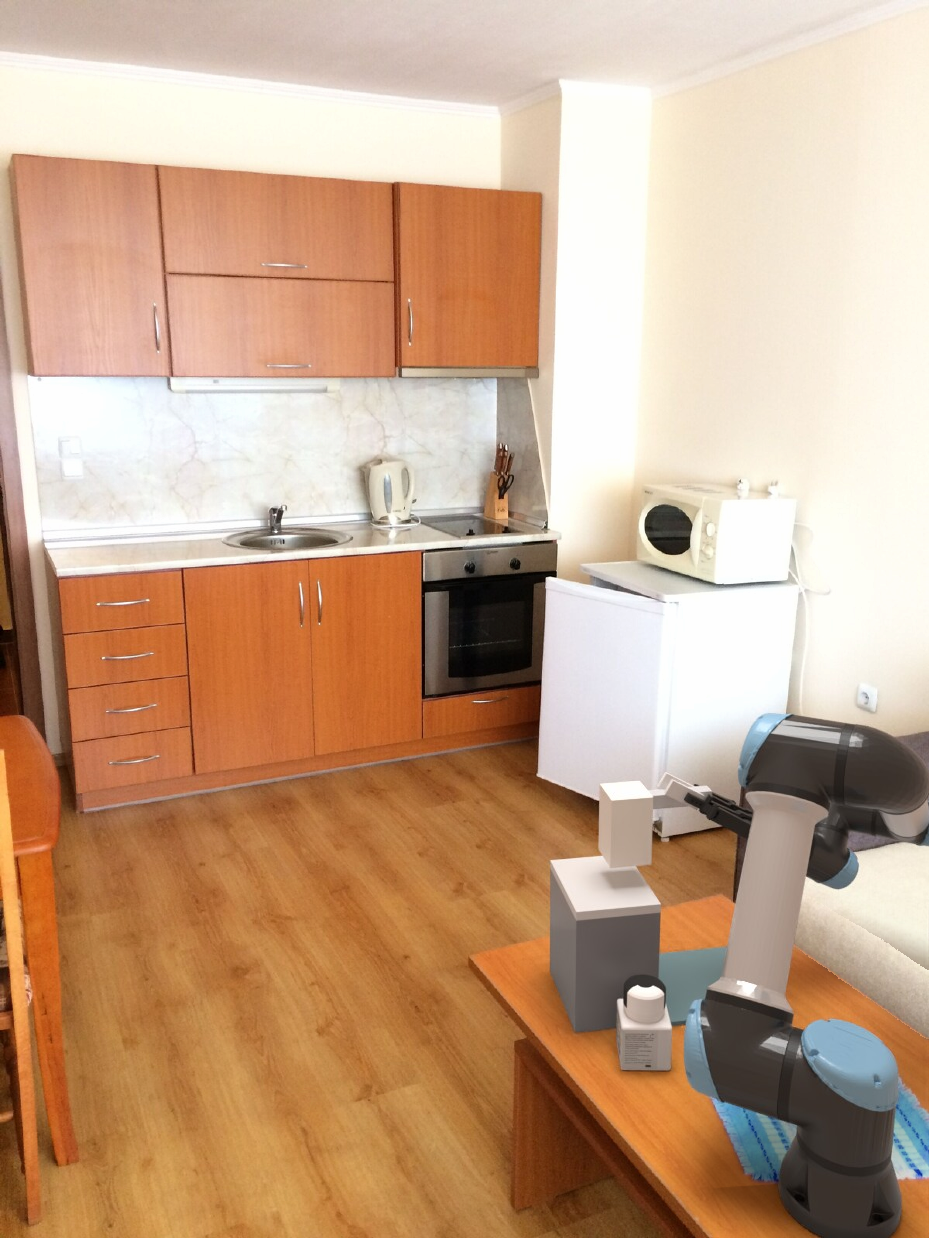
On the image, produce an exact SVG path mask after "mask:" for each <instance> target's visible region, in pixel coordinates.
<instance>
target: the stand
mask: <svg viewBox="0 0 929 1238" xmlns="http://www.w3.org/2000/svg"><path fill="white" fill-rule="evenodd" d="M549 862H550V863H549V865H550V867H549V869H550V872H549V873H550V874H549V876H550V877H549V973H550V972H551V973H550V975H552V976H551V978H552V980H554V981H553V983H554V986H555V988H556V991H557V992H558V995H559V998H560V1000H561V1002H562V1005H563V1007H564V1010H565V1012H566V1014H567V1017H568V1020H569V1022H570V1024H571V1027H572V1029H573V1031H574V1033H575V1034H577V1033H578V1034H579V1033H586V1032H587V1033H588V1032H595V1031H597V1032H598V1031H604V1030H606V1031H607V1030H616V1023H617V1000H618V999H623V991H624V983H625V981H626V980H627V979H628V978H630V977H631V976H634V975H640V974H644V975H651V976H654V977H656V978H658V979H659V953H660V950H661V949H660V948H661V947H660V946H661V945H660V944H661V939H660V938H661V913H662V904H661V902H660V900H659V899H658V897H657V896H656V894H655V893H654V891H653V890H652V888H651V887H650V885H649V884H648V883H647V881H646V879H645V878H644V877H643V875H642V873H641V872H640V870H639V869H638V868H637V867H638V866H631V867H620V868H610V867H609V865H608V864H607V862H606V861H605V859H604V857H603V856H602V855H597V856H584V857H574V858H573V857H572V858H564V859H563V858H560V859H550V861H549Z"/></svg>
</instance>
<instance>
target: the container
mask: <svg viewBox="0 0 929 1238" xmlns="http://www.w3.org/2000/svg"><path fill="white" fill-rule="evenodd" d="M615 1031H616V1032H615V1035H616V1036H615V1040H616V1045H617V1046H616V1047H617V1054H618V1058H619V1065H620V1069H621V1070H622V1071H666V1072H667V1071H670V1070H671V1069H672V1046H673V1045H672V1043H673V1041H672V1040H673V1039H672V1038H673V1026H671V1022H670V1018H669V1014H668V1010H667V1006H666V987H665V985H664V983H663V982H662V981H661V980H660V979H658V978H656V977H654V976H651V975H644V974H640V975H634V976H631V977H630V978H628V979H627V980H626V981H625V983H624V991H623V999H618V1000H617V1023H616V1029H615Z"/></svg>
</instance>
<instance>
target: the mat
mask: <svg viewBox="0 0 929 1238" xmlns="http://www.w3.org/2000/svg"><path fill="white" fill-rule="evenodd" d="M726 950H727V946H719V947H708V948H698V949H687V950H680V951H679V950H677V951H670V952H659V979H660V980H661V981H662V982H663V983H664V985H665V987H666V1006H667V1010H668V1014H669V1018H670V1022H671V1026H672V1027H675V1026H676V1027H677V1026H685V1025H686V1020H687V1016H688V1015H689V1009H690V1006H691V1004H692V1002H693V1001H694V1000H699V999H703V1000H705V996H706V991H707V988H708V986H710V985H712V984H713V983H715V982H716V981H718V980H719V979H720V977H721V975H722V970H723V965H724V960H725V955H726Z"/></svg>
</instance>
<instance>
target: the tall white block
mask: <svg viewBox="0 0 929 1238" xmlns="http://www.w3.org/2000/svg"><path fill="white" fill-rule="evenodd" d="M689 788H691V789H693V790H695V791H697V792H699V793H701V794H703V795H704V796H705V798H704V799H703V800H705V799H706V798H707V796H708V794H709V795H711V796H712V792H713V790H711V788H710V787H709V786H708V785H699V786H695V787H689ZM664 791H665V789H661V788H658V789H647V787H646V786H645V785H644V784H643V783H642V782H641V780H632V781H631V780H630V781H618V782H607V783H599V794H598V795H599V800H598V801H599V805H598V809H599V810H598V811H599V812H598V814H599V815H598V852H600V854H601V856H603V857H604V859H605V861H606V862H607V864H608V865H609V867H610V868H620V867H631V866H636V867H640V866H651V865H652V855H653V850H652V849H653V826H654V825H653V822H654V819H653V818H654V817H653V816H654V810H660V809H671V808H672V809H674V808H675V809H676V808H684V807H689V806H687V805H685V804H683V803H681V802H679V801H677V800H675V799H673V798H671V797H669V796H667V795H665V794H664Z"/></svg>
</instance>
